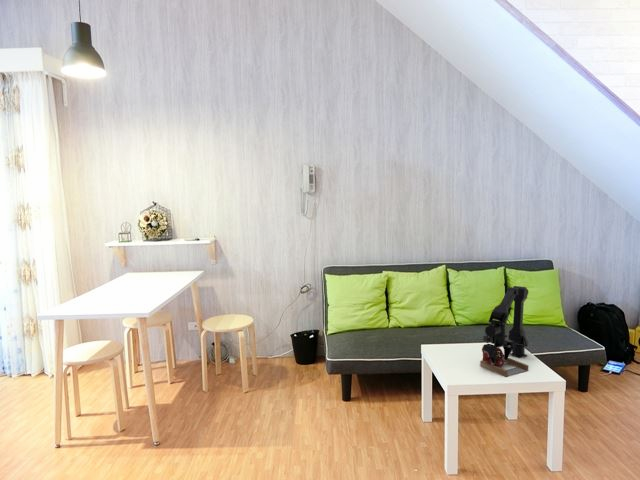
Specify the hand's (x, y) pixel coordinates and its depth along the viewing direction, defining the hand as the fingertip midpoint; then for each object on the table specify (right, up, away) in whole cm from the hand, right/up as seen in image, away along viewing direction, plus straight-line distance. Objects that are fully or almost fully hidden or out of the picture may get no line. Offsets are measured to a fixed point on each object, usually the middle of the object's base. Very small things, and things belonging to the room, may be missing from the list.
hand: (499, 361), depth 239 cm
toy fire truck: (-2, -3, +3) cm, 5 cm away
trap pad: (+4, -4, -7) cm, 9 cm away
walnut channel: (+1, -3, -2) cm, 4 cm away
